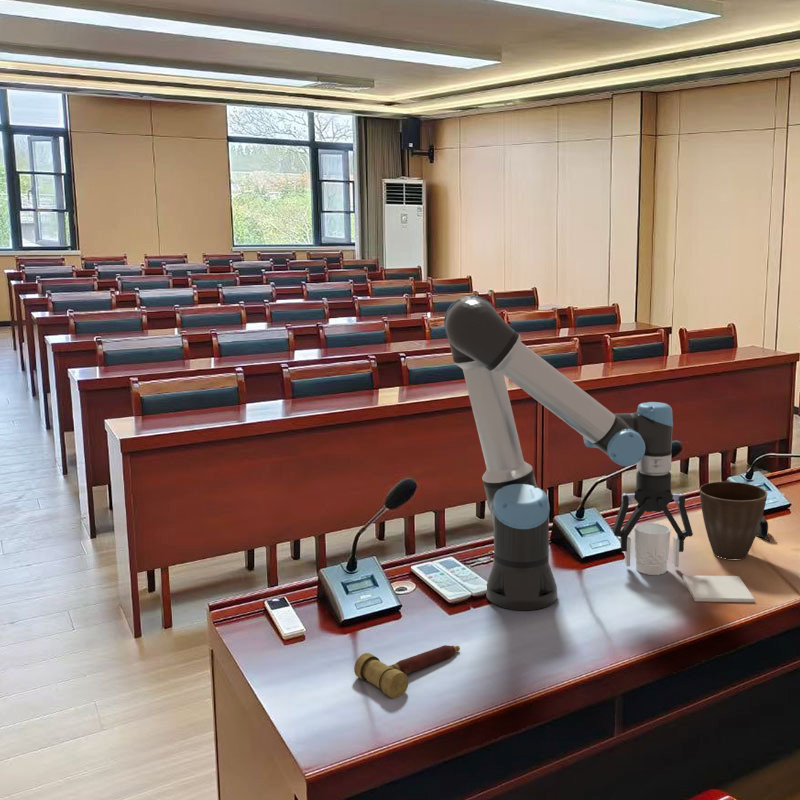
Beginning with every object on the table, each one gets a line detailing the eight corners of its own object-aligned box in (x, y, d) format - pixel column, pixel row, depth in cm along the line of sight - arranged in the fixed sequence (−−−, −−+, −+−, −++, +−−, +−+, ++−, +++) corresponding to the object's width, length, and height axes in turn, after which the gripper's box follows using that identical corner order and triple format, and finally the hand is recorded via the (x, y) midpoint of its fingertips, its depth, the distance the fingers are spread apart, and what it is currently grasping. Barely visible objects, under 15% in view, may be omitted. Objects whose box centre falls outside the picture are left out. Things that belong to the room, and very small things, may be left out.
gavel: (441, 627, 164) (478, 645, 157) (441, 649, 165) (477, 668, 157) (353, 656, 151) (388, 677, 144) (353, 680, 152) (388, 702, 144)
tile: (694, 601, 179) (694, 597, 179) (682, 578, 191) (682, 575, 190) (754, 602, 178) (754, 598, 177) (738, 579, 189) (738, 576, 189)
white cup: (665, 563, 200) (666, 522, 198) (672, 576, 192) (673, 534, 190) (630, 563, 201) (631, 522, 199) (636, 576, 193) (637, 534, 191)
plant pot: (777, 562, 198) (781, 496, 195) (719, 569, 195) (722, 502, 192) (739, 541, 212) (742, 479, 209) (685, 547, 209) (687, 484, 206)
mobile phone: (740, 505, 226) (761, 522, 211) (752, 504, 225) (774, 522, 211) (740, 523, 226) (761, 541, 212) (751, 523, 226) (773, 541, 211)
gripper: (604, 475, 190) (603, 570, 194) (709, 475, 187) (706, 571, 191) (600, 466, 197) (599, 557, 201) (702, 466, 194) (698, 558, 198)
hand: (651, 564), depth 196 cm, fingers open, 10 cm apart
